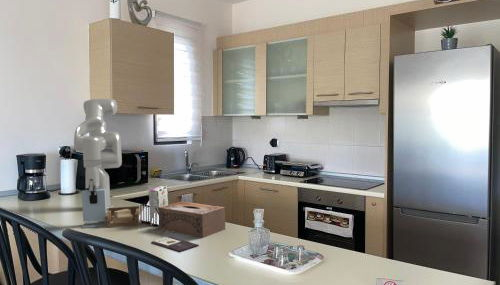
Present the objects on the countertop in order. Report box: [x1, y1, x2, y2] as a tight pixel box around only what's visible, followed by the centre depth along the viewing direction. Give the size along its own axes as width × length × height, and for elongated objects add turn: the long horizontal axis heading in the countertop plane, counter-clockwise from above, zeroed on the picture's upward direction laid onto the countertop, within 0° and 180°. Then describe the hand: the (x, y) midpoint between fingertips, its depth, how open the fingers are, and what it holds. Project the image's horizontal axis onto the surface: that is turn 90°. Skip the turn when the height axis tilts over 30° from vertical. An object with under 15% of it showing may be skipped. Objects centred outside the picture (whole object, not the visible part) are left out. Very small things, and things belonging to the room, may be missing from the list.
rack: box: [104, 205, 141, 228], centre depth 195 cm, size 14×14×6 cm
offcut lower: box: [111, 214, 134, 223], centre depth 193 cm, size 4×9×4 cm, turn 108°
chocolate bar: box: [151, 236, 200, 253], centre depth 159 cm, size 9×1×18 cm
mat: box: [81, 220, 105, 229], centre depth 193 cm, size 11×11×1 cm
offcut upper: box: [114, 209, 131, 218], centre depth 193 cm, size 4×6×2 cm, turn 135°
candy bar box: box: [148, 185, 169, 226], centre depth 193 cm, size 11×5×16 cm, turn 168°
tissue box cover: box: [159, 200, 226, 239], centre depth 181 cm, size 26×14×10 cm, turn 55°
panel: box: [81, 189, 108, 223], centre depth 192 cm, size 4×10×14 cm, turn 102°
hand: (94, 202), depth 192 cm, fingers closed on panel, 3 cm apart
